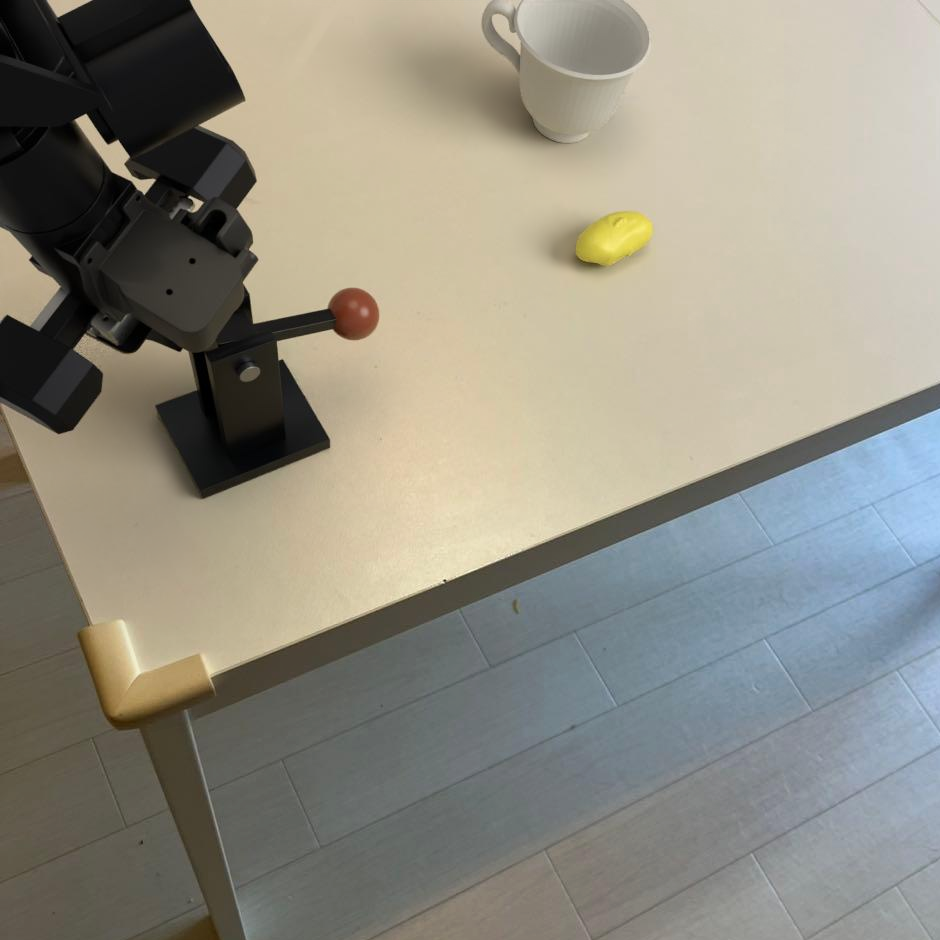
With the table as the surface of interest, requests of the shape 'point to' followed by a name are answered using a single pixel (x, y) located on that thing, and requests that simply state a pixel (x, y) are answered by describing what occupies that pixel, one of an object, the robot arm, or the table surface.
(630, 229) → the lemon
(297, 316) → the lever
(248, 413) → the bracket
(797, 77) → the table surface
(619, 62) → the teacup
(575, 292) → the table surface
